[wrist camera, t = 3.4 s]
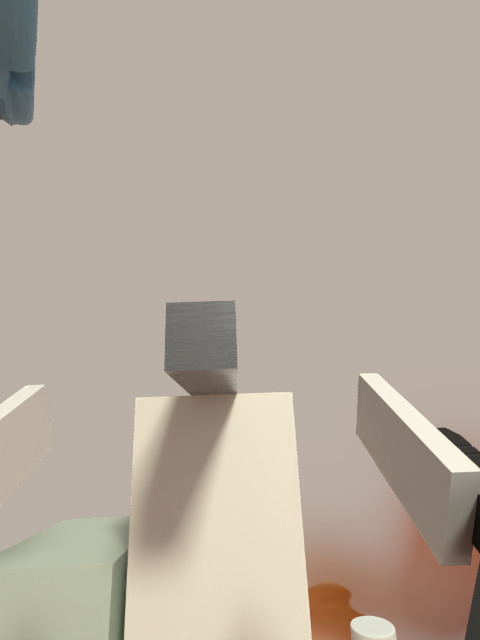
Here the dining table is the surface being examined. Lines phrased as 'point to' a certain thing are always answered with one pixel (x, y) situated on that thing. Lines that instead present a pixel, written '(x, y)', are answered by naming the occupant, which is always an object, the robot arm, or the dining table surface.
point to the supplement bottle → (372, 629)
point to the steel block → (202, 346)
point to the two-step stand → (178, 536)
